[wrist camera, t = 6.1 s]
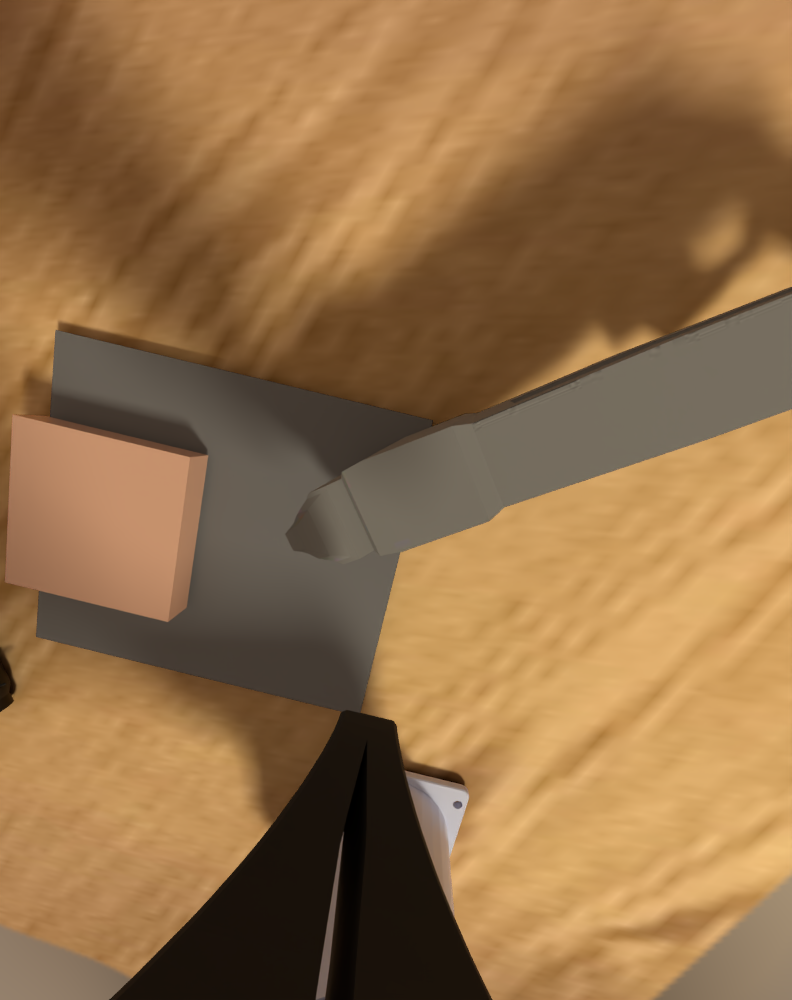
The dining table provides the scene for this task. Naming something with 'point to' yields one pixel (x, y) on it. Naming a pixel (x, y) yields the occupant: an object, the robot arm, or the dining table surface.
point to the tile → (102, 516)
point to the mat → (237, 524)
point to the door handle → (4, 689)
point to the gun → (557, 435)
